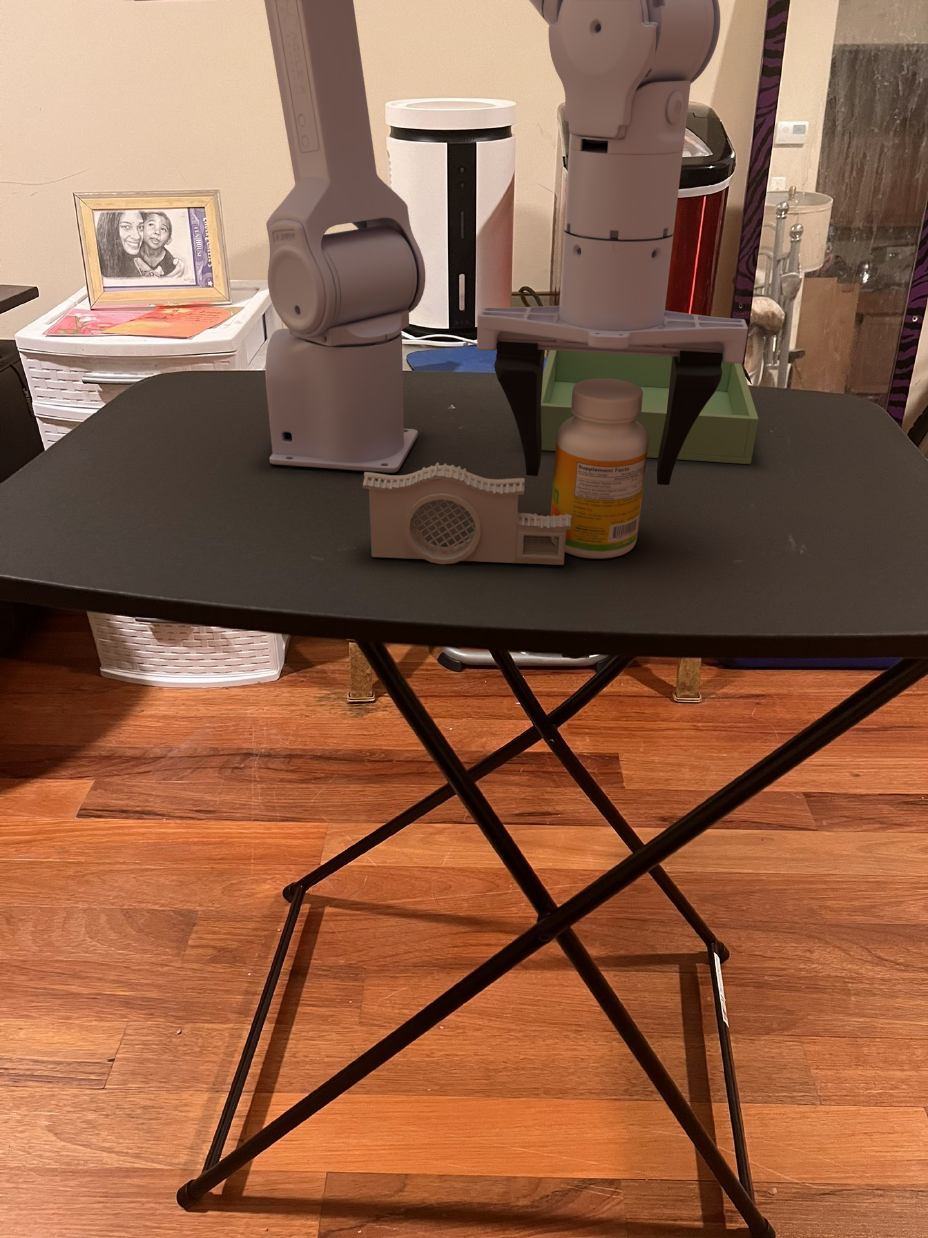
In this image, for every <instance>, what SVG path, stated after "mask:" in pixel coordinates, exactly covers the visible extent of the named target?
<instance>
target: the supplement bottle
mask: <svg viewBox="0 0 928 1238" xmlns="http://www.w3.org/2000/svg"><path fill="white" fill-rule="evenodd" d="M642 396H643V391H642V389H641V388H640V387H639V386H637V385H636V384H633V383H631V382H627V381H623V380H617V379H608V378H598V379H588V380H583V381H581V382H578V383H576V384H575V385H574V387H573V393H572V404H571V406H572V407H571V412H572V413H573V414H574V416H573V417H571V418H569V419H567V420H566V421H565V422H563V423H562V425H561V426H560V428H559V430H558V433H557V440H556V451H554V452H555V453H554V454H555V455H554V464H553V465H554V467H553V477H552V479H553V480H552V493H551V506H550V507H551V508H550V516H553V515H555V516H559V515H560V514H562V515H565V514H566V513H568V515H571V528H570V529H566V541H565V554H568V555H572V556H574V557H578V558H583V559H591V560H592V559H594V560H595V559H599V560H600V559H613V558H616V557H617V558H618V557H621V556H623V555H625V554H627V553H629V552H631V551H632V549H634V548H635V545H636V543H637V540H638V539H637V538H638V533H639V524H640V516H641V508H642V500H643V492H644V484H645V475H646V469H647V461H648V457H647V454H648V444H649V437H648V433H647V431H646V429H645V428H644V427H643V426H642V425H641V424H640V423H639V422H637V421H636V420H635V419H637V418H638V417H639V416H640V412H641V410H642ZM551 537H552V536H551ZM554 537H555V536H554ZM554 537H552V538H553V540H552V541H555V542H556V540H554ZM555 539H557V537H555ZM552 544H553V545H554V544H555V543H554V542H553V543H552Z"/></svg>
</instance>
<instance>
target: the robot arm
mask: <svg viewBox="0 0 928 1238" xmlns="http://www.w3.org/2000/svg"><path fill="white" fill-rule="evenodd" d="M528 1H529V2H530V3H531V5H532V7H533V8H534V9H535V10H536V11H537V12H538V13H539V15H540V16H541V17H542V18H543V20H544V21H545V22H546V23H547V25H548V45H549V47H548V48H549V52H550V58H551V61H552V64H553V67H554V69H555V72H556V74H557V77H558V78H559V80H560V81H561V84H562V86H563V87H562V88H563V90H564V97H565V98H564V99H565V100H564V101H565V103H564V117H563V118H564V122H566V123H568V132H569V140H568V159H567V174H566V175H567V176H566V192H565V210H564V211H565V212H564V226H563V237H562V238H563V239H562V257H561V271H560V272H561V274H560V291H559V305H544V306H543V305H541V306H540V305H539V306H519V307H518V306H517V307H514V306H513V307H511V306H510V307H491V306H482V308H481V309H480V311H479V313H478V314H477V331H476V332H477V333H476V337H477V338H476V349H477V350H478V351H496V353H495V361H494V364H493V367H494V373H495V375H496V378H497V381H498V383H499V384H500V385H499V386H500V387H501V389H502V391H503V393H504V395H505V397H506V399H507V402H508V405H509V407H510V409H511V412H512V416H513V417H514V420H515V424H516V426H517V427H516V428H517V430H518V434H519V438H520V441H521V446H522V451H523V456H524V464H525V475H526V476H529V477H539V476H538V475H539V471H540V467H541V462H542V450H541V449H542V439H541V397H542V382H543V372H544V369H545V356H546V355H545V354H546V351H550V350H557V351H576V352H596V353H615V354H634V355H653V356H672V365H671V375H670V385H669V395H668V404H667V413H666V419H665V424H664V429H663V434H662V439H661V444H660V449H659V454H658V458H657V465H656V485H660V486H661V485H662V486H669V485H670V483H671V479H672V474H673V472H674V468H675V465H676V463H677V460H678V459H677V457H678V455H679V452H680V450H681V448H682V446H683V443H684V441H685V439H686V437H687V435H688V433H689V431H690V429H691V428H692V426H693V424H694V422H695V421H696V419H697V417H698V416H699V414H700V412H701V411H702V409H703V408H704V407H705V405H706V404H707V402H708V401H709V399H710V398H711V397H712V395H713V394H714V393H715V391H716V389H717V387H718V385H719V383H720V381H721V378H722V368H721V364H722V361H723V362H725V363H739V364H743V362H744V358H745V357H744V356H745V351H746V344H747V337H748V332H749V327H748V324H747V322H746V320H745V319H744V318H730V317H729V318H728V317H717V316H708V315H702V314H695V313H694V314H693V313H686V312H678V311H670V310H666V304H667V303H666V302H667V296H668V295H667V294H668V288H669V287H668V285H669V277H670V270H671V269H670V268H671V260H672V251H673V242H674V233H675V225H676V217H677V207H678V200H679V199H678V198H679V191H680V190H679V189H680V180H681V173H682V162H683V156H684V155H683V154H684V146H685V138H686V131H687V129H686V128H687V119H688V112H689V103H690V94H691V85H692V84H693V83H694V82H695V81H696V80H697V79H699V78H700V76H702V74H703V72H704V71H705V70H706V68H707V67H708V65H709V63H711V60H712V58H713V55H714V53H715V50H716V48H717V45H718V41H719V37H720V32H721V9H720V2H719V0H528ZM263 2H264V7H265V13H266V19H267V24H268V25H267V26H268V30H269V31H268V32H269V37H270V42H271V43H270V44H271V49H272V55H273V60H274V67H275V72H276V77H277V78H276V79H277V85H278V90H279V96H280V102H281V108H282V115H283V120H284V125H285V130H286V137H287V143H288V150H289V155H290V156H289V157H290V162H291V169H292V173H293V179H294V186H293V187H292V189H291V190H290V191H289V193H288V194H287V195H286V197H284V199H283V200H282V202H280V203H279V205H278V206H277V207H276V209H274V211H273V212H272V213H271V215H269V217H268V219H267V221H266V223H265V224H266V225H265V226H266V230H267V236H268V245H269V259H268V269H267V286H268V287H267V288H268V292H269V298H270V301H271V303H272V306H273V308H274V311H275V312H276V314H277V316H278V318H280V320H281V321H282V323H283V324H284V325H285V326H286V327H287V328H279V329H276V330H275V331H274V332H273V333H272V335H271V337H270V339H269V341H268V344H267V349H266V353H265V354H266V355H265V367H264V370H265V371H264V372H265V373H264V374H265V375H264V377H265V378H264V379H265V390H266V399H267V409H268V411H267V412H268V419H269V420H268V421H269V430H270V431H269V432H270V442H271V451H272V452H271V455H270V456H269V463H270V464H271V465H276V466H277V465H278V466H291V467H302V468H303V467H305V468H317V469H319V468H320V469H321V468H322V469H333V470H347V471H361V472H371V473H386V474H387V473H388V474H394V473H398V472H399V470H400V469H401V467H402V465H403V463H405V462H404V461H405V460H406V459H407V456H408V455H409V452H410V451H411V449H412V447H413V446H414V443H415V442H416V440H417V438H418V437H419V432H418V430H417V429H414V428H405V413H404V411H405V410H404V407H405V406H404V363H403V358H404V357H403V333H402V331H403V330H404V329H406V328H407V329H408V328H409V327H410V313H411V312H413V311H414V310H415V309H416V308H417V307H418V306H419V305H420V302H421V301H422V298H423V295H424V292H425V288H426V267H425V265H426V264H425V261H424V257H423V254H422V251H421V248H420V246H419V244H418V242H417V240H416V238H415V236H414V233H413V230H412V227H411V222H410V221H411V220H410V215H409V207H408V204H407V203H406V201H405V200H403V198H401V196H399V194H398V193H396V192H395V191H394V190H393V189H392V188H391V187H390V186H389V185H388V184H387V183H385V182H384V180H383V179H381V178H380V176H379V175H378V173H377V172H378V171H377V165H376V157H375V152H374V151H375V150H374V144H373V143H374V142H373V135H372V129H371V128H372V127H371V122H370V113H369V107H368V99H367V93H366V91H367V90H366V84H365V83H366V82H365V77H364V69H363V63H362V55H361V49H360V41H359V33H358V27H357V18H356V11H355V5H354V0H263ZM346 224H352V225H353V226H355V227H356V228H355V229H350V230H343V231H336V232H331V233H326V232H327V231H328V230H329V229H330V228H333V227H336V226H340V225H346Z"/></svg>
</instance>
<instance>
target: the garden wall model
mask: <svg viewBox="0 0 928 1238" xmlns="http://www.w3.org/2000/svg"><path fill="white" fill-rule="evenodd" d="M363 472H364V473H363V482H362V489H367V490H368V498H369V500H368V502H369V522H370V524H369V525H370V546H371V547H370V548H371V549H370V550H371V557H372V558H389V559H411V560H412V559H414V560H425V561H427V562H430V563H434V564H438V565H451V564H456V563H459V562H460V561H461V562H482V563H484V562H485V563H507V564H510V563H511V564H533V565H534V564H535V565H558V566H559V565H560V566H564V565H565V554H566V552H565V541H566V529H570V528H571V515H568V513H566V514H565V515H562V514H560V515H559V516H555V515H553V516H551V515H549V514H548V515H546V516H545V515H543V514H541V515H538V514H537V513H536V512H535V513H533V514H532V513H530V512H528V513H526V512H519V510H518V509H519V495H525V480H526V478H524V477H516V478H515V477H514V478H503V479H502V478H499V479H496V478H495V479H494V478H485V477H482V476H479V475H478V474H477V475H476V474H474V473H472V472H469V471H467V468H463V469H462V467H461V466H455V464H451V465H448V464H447V463H444V464H443V465H442V464H441V465H440V462H436V463H435V465H430V466H428V467H425V466H423V467H422V469H420V470H417V471H415V472H411V473H407V474H401V475H390V474H384V473H379V472H371V471H363ZM440 500H441V501H440ZM449 501H450V502H451V503H450V502H449ZM433 502H435V503H436V504H435V505H433V504H432V503H433ZM443 503H445V504H446V506H445V507H443V506H442V504H443ZM454 505H456V507H454V508H453V506H454ZM426 506H429V507H430V508H429V509H425V507H426ZM437 507H439V508H440V510H439V511H437V510H436V508H437ZM463 508H464V509H463ZM447 509H449V511H448V512H446V510H447ZM458 509H459V510H460V512H459V513H458V514H457V513H456V512H455V511H457V510H458ZM420 510H422V511H423V512H422V513H420V514H419V513H418V512H419V511H420ZM431 511H432V512H433V513H434V514H431V516H430V515H429V512H431ZM467 512H468V514H469V515H467V514H466V513H467ZM441 513H443V515H442V516H440V514H441ZM451 514H453V515H454V516H453V517H451V518H450V516H449V515H451ZM414 515H416V517H415V518H414V517H413V516H414ZM462 515H463V516H464V518H463V519H460V516H462ZM423 516H427V518H426V519H424V520H423V519H422V517H423ZM435 517H437V519H436V520H434V519H433V518H435ZM445 518H446V519H447V520H446V521H444V520H443V519H445ZM470 519H472V520H473V522H472V521H471V520H470ZM417 520H419V521H420V523H418V524H417V525H416V523H415V521H417ZM454 520H457V523H454V522H453V521H454ZM428 521H430V522H431V523H429V524H428V525H427V524H426V523H427V522H428ZM466 521H467V522H468V523H469V524H467V526H465V524H464V522H466ZM438 522H440V523H441V524H440V525H439V526H437V524H436V523H438ZM449 523H450V524H451V527H449V528H448V526H447V525H448V524H449ZM422 525H423V526H424V527H422V528H421V529H419V527H421V526H422ZM431 526H433V527H434V529H432V530H430V528H431ZM458 526H461V527H462V528H461V529H460V530H459V529H458V528H457V527H458ZM443 527H444V529H445V530H444V531H443V532H442V531H441V530H440V529H441V528H443ZM469 528H472V529H473V531H471V532H469V531H468V529H469ZM453 529H454V530H455V531H456V532H455V533H454V534H453V533H452V532H451V531H452V530H453ZM425 530H426V531H427V533H426V534H425V535H423V533H422V532H424V531H425ZM435 532H437V533H438V535H436V536H435V535H434V533H435ZM463 532H465V533H466V535H465V536H463V535H462V533H463ZM447 533H448V534H449V537H447V538H446V536H444V535H445V534H447ZM428 536H430V537H431V539H429V540H427V539H426V538H427V537H428ZM457 536H459V537H460V539H458V540H457V539H456V537H457ZM551 536H552V537H554V536H555V537H557V539H555V537H554V540H556V542H555V541H552V540H553V538H552V537H551ZM440 537H441V538H442V539H443V540H442V541H441V542H439V541H438V540H437V539H438V538H440ZM467 538H468V539H467ZM451 539H452V540H453V541H454V543H452V544H450V543H449V541H450V540H451ZM462 541H463V542H462ZM433 542H435V544H436V545H435V544H433ZM461 542H462V543H461ZM553 542H554V543H555V544H554V543H553ZM445 543H446V545H447V546H442V545H444V544H445Z"/></svg>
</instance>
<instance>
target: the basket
mask: <svg viewBox="0 0 928 1238" xmlns="http://www.w3.org/2000/svg"><path fill="white" fill-rule="evenodd" d="M548 351H549V352H548V355H547V359H546V362H545V364H544V369H543V382H542V397H541V439H542V449H541V451H550V452H556V440H557V433H558V430H559V428H560V426H561V425H562V423H563V422H565V421H566V420H567V419H569V418H571V417H573V416H574V414H573V413H572V412H571V407H572V406H571V404H572V393H573V387H574V385H575V384H576V383H578V382H581V381H583V380H588V379H598V378H608V379H617V380H623V381H627V382H631V383H633V384H636V385H637V386H639V387H640V388H641V389H642V391H643V396H642V410H641V412H640V416H639V417H638V418H637V419H635V420H636V421H637V422H639V423H640V424H641V425H642V426H643V427H644V428H645V429H646V431H647V433H648V437H649V444H648V454H647V458H650V459H652V458H653V459H658V454H659V449H660V444H661V439H662V434H663V429H664V424H665V419H666V413H667V404H668V395H669V385H670V375H671V365H672V356H653V355H634V354H615V353H596V352H576V351H557V350H548ZM742 364H743V363H742ZM742 364H739V363H725V362H723V361H722V364H721V368H722V378H721V381H720V383H719V385H718V387H717V389H716V391H715V393H714V394H713V395H712V397H711V398H710V399H709V401H708V402H707V404H706V405H705V407H704V408H703V409H702V411H701V412H700V414H699V416H698V417H697V419H696V421H695V422H694V424H693V426H692V428H691V429H690V431H689V433H688V435H687V437H686V439H685V441H684V443H683V446H682V448H681V450H680V452H679V455H678V457H677V460H682V461H696V462H710V463H723V464H725V463H726V464H740V465H751V464H752V460H753V459H752V458H753V454H754V449H755V448H754V447H755V442H756V436H757V432H758V425H759V421H760V420H759V417H758V413H757V410H756V407H755V403H754V399H753V397H752V394H751V389H750V387H749V384H748V381H747V378H746V374H745V371H744V368H743V365H742Z"/></svg>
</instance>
